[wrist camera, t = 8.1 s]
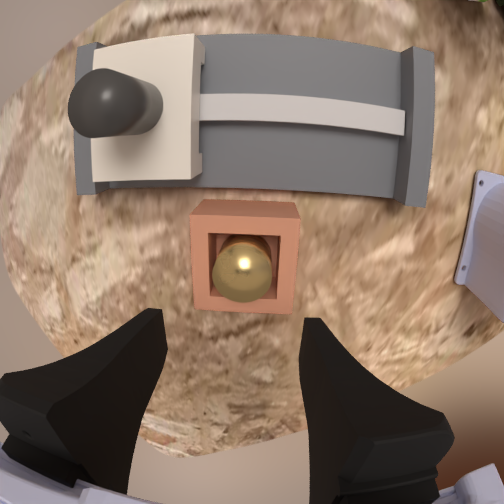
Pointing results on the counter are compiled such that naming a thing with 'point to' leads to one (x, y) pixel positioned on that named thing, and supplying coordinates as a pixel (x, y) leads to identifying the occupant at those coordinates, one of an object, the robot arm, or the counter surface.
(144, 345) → the robot arm
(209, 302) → the box
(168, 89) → the carriage
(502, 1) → the character mug
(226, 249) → the button
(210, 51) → the rail
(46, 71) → the counter surface
